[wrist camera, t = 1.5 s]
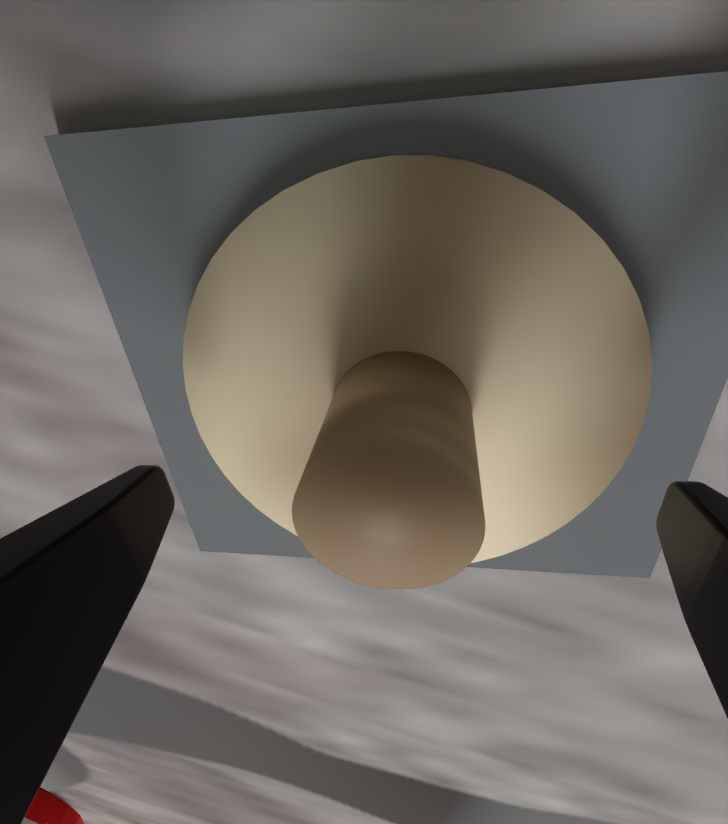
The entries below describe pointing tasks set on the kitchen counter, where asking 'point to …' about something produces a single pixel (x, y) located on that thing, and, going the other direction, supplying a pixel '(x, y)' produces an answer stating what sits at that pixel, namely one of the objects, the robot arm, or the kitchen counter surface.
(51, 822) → the kitchen timer
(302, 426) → the lid
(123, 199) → the mat
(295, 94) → the kitchen counter surface
